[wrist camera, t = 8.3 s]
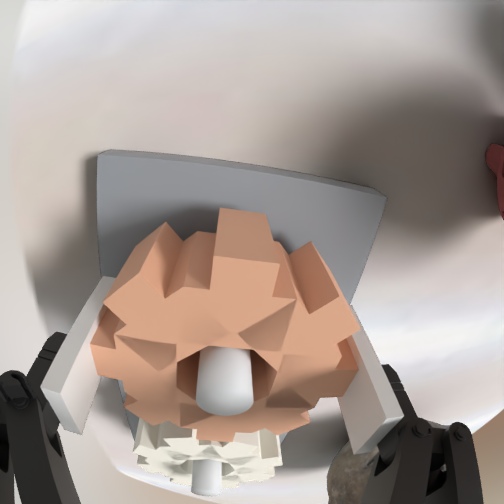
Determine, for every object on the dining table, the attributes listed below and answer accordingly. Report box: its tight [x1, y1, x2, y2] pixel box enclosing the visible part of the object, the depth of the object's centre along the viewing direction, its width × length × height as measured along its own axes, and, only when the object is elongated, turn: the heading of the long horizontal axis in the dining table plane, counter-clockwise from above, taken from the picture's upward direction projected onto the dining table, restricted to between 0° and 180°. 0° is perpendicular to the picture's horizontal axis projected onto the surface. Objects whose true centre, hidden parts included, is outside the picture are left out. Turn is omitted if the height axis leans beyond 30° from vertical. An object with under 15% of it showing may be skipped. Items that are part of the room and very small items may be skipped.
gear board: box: [97, 150, 387, 496], centre depth 15 cm, size 24×13×8 cm, turn 170°
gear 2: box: [133, 418, 283, 488], centre depth 18 cm, size 10×10×4 cm
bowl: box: [327, 420, 450, 504], centre depth 22 cm, size 14×15×10 cm
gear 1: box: [90, 208, 361, 442], centre depth 12 cm, size 10×10×4 cm
